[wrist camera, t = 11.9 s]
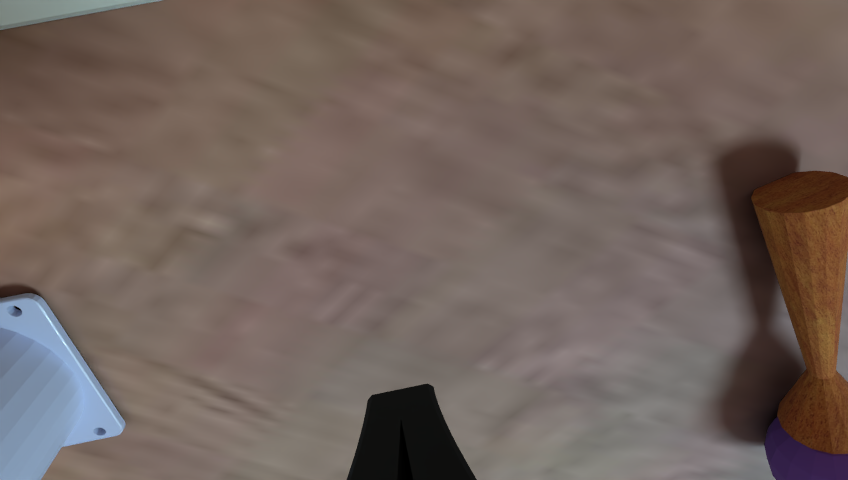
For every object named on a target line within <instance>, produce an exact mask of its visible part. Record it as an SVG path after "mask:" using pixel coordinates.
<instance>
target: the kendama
mask: <svg viewBox="0 0 848 480" xmlns="http://www.w3.org/2000/svg"><path fill="white" fill-rule="evenodd" d="M751 199H752V203H753V206H754V209H755V212H756V215H757V218H758V221H759V224H760V227H761V230H762V233H763V236H764V239H765V242H766V245H767V248H768V251H769V255H770V258H771V261H772V264H773V267H774V270H775V273H776V276H777V279H778V282H779V285H780V288H781V291H782V294H783V297H784V300H785V304H786V307H787V310H788V313H789V316H790V319H791V322H792V325H793V328H794V331H795V334H796V337H797V340H798V343H799V346H800V349H801V352H802V356H803V359H804V362H805V365H806V368H807V369H806V370H805V372H804V373H803V374H802V375H801V377H800V378H799V379H798V380H797V382H796V383H795V384H794V385H793V387H792V388H791V389H790V391H789V392H788V393H787V394H786V396H785V397H784V398H783V399H782V401H781V402H780V403H779V408H778V412H777V417H776V418H775V419H774V421H773V422H772V423H771V425H770V426H769V428H768V430H767V435H766V439H765V443H764V445H765V450H766V455H767V459H768V462H769V465H770V468H771V471H772V474H773V476H774V478H775V479H776V480H848V382H847V381H846V380H845V379H844V378H843V377H842V376H841V375H840V374H839V373H838V372H837V371H836V363H837V353H838V343H839V333H840V323H841V312H842V302H843V292H844V282H845V272H846V261H847V251H848V177H846V176H843V175H840V174H837V173H834V172H823V171H808V172H796V173H792V174H790V175H787V176H785V177H783V178H780V179H778V180H776V181H773V182H771V183H769V184H766V185H764V186H762V187H759V188H757V189H755V190H754V192H753V194H752V197H751Z"/></svg>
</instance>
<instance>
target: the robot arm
mask: <svg viewBox="0 0 848 480" xmlns="http://www.w3.org/2000/svg"><path fill="white" fill-rule="evenodd" d="M14 306H16V307H19V308H20V309H21V310H22V311H20V310H18V309H16V308H15V307H14ZM124 427H125V421H124V420H123V418H122V417H121V415H120V414H119V412H118V411H117V409H116V408H115V406H114V405H113V403H112V402H111V400H110V399H109V397H108V396H107V394H106V393H105V391H104V390H103V388H102V386H101V385H100V383H99V382H98V380H97V379H96V377H95V376H94V374H93V373H92V371H91V370H90V368H89V367H88V365H87V364H86V362H85V361H84V359H83V358H82V356H81V355H80V353H79V352H78V350H77V349H76V347H75V346H74V344H73V343H72V341H71V340H70V338H69V337H68V335H67V334H66V332H65V331H64V329H63V328H62V326H61V325H60V323H59V322H58V320H57V318H56V317H55V315H54V314H53V312H52V311H51V309H50V308H49V306H48V305H47V303H46V302H45V301H44V300H43V298H42V297H40V296H38V295H36V294H32V293H25V294H20V295H15V296H10V297H5V298H0V480H41V478H42V477H43V475H44V474H45V472H46V471H47V469H48V467H49V466H50V464H51V463H52V461H53V460H54V458H55V457H56V455H57V453H58V452H59V450H60V449H61V447H64V446H69V445H74V444H78V443H83V442H88V441H93V440H98V439H103V438H107V437H112V436H117V435H119V434H121V433H122V431H123V429H124ZM347 480H477V479H476V478H475V476H474V474H473V473H472V471H471V469H470V467H469V466H468V464H467V462H466V460H465V459H464V457H463V455H462V453H461V451H460V450H459V448H458V446H457V444H456V442H455V440H454V438H453V436H452V434H451V432H450V430H449V428H448V426H447V424H446V422H445V420H444V417H443V415H442V412H441V410H440V407H439V405H438V402H437V399H436V396H435V392H434V387H433V386H431V385H429V384H423V385H418V386H414V387H409V388H404V389H399V390H394V391H390V392H385V393H380V394H375V395H372V396H371V397H370V398H369V399H368V402H367V408H366V414H365V418H364V423H363V427H362V431H361V435H360V438H359V442H358V446H357V449H356V453H355V456H354V459H353V462H352V465H351V468H350V471H349V475H348V478H347Z"/></svg>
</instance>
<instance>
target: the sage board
mask: <svg viewBox="0 0 848 480" xmlns="http://www.w3.org/2000/svg"><path fill="white" fill-rule="evenodd" d="M156 1H161V0H0V30H4V29H9V28H15V27H20V26H26V25H31V24H36V23H42V22H47V21H53V20H58V19H64V18H69V17H74V16H80V15H85V14H91V13H96V12H102V11H107V10H112V9H118V8H123V7H129V6H134V5H140V4H145V3H150V2H156Z"/></svg>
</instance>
